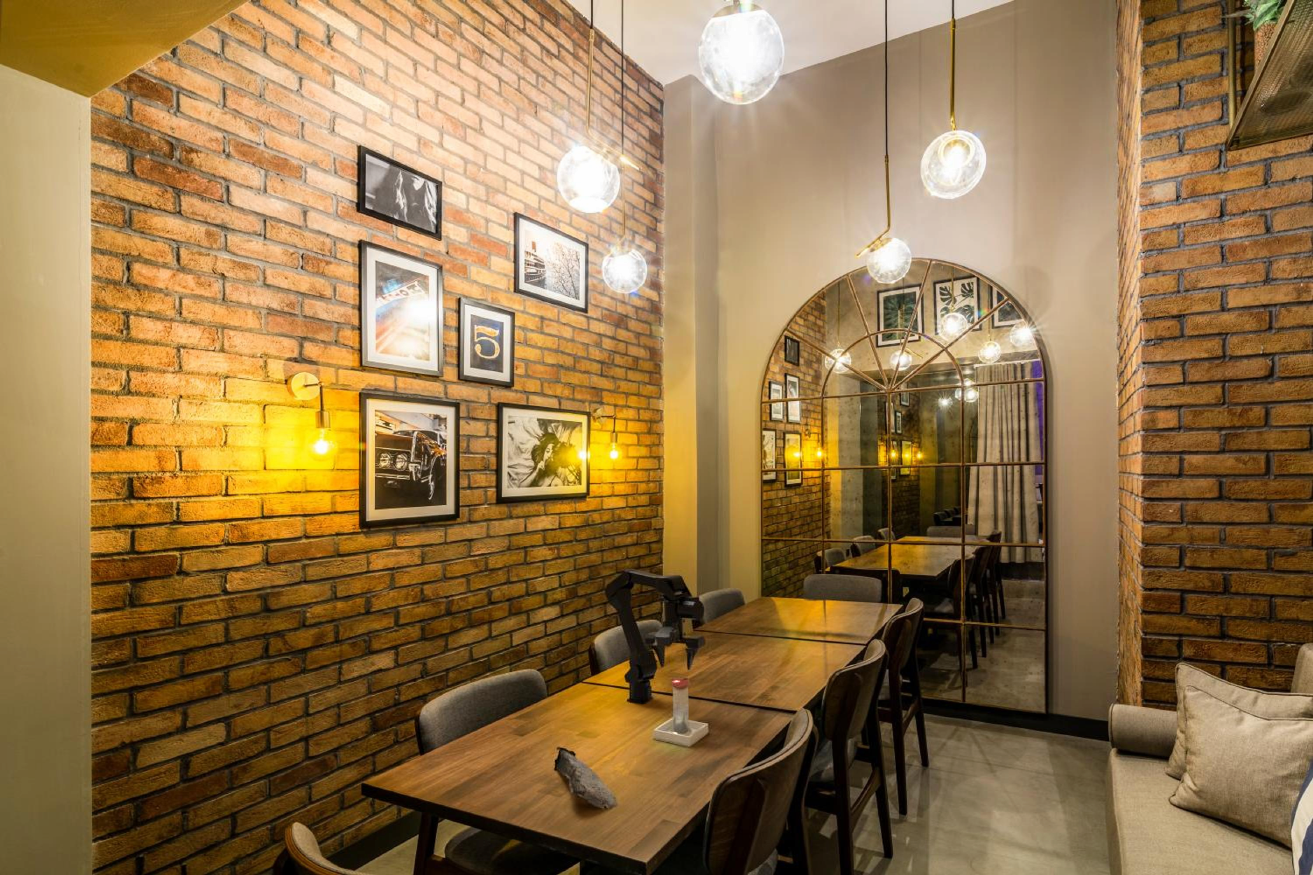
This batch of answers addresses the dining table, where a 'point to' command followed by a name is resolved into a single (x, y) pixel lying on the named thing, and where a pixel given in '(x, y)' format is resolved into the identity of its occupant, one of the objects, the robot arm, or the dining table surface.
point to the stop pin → (680, 706)
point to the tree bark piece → (583, 780)
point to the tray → (664, 734)
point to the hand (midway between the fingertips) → (675, 668)
